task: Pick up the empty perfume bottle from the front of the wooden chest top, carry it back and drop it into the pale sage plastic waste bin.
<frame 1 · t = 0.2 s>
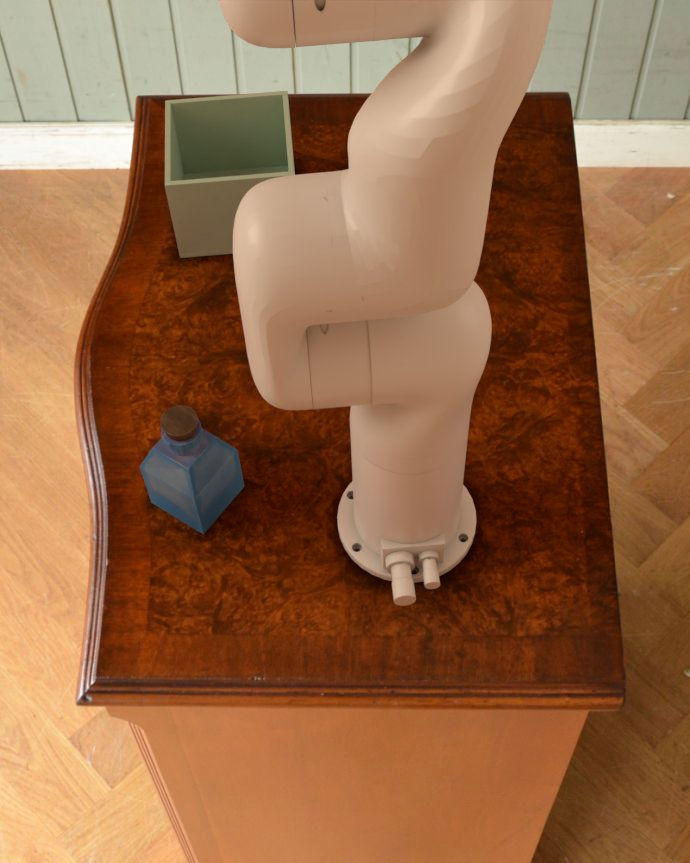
waste bin: (238, 210, 129), on the table
perfume bottle: (198, 495, 107), on the table
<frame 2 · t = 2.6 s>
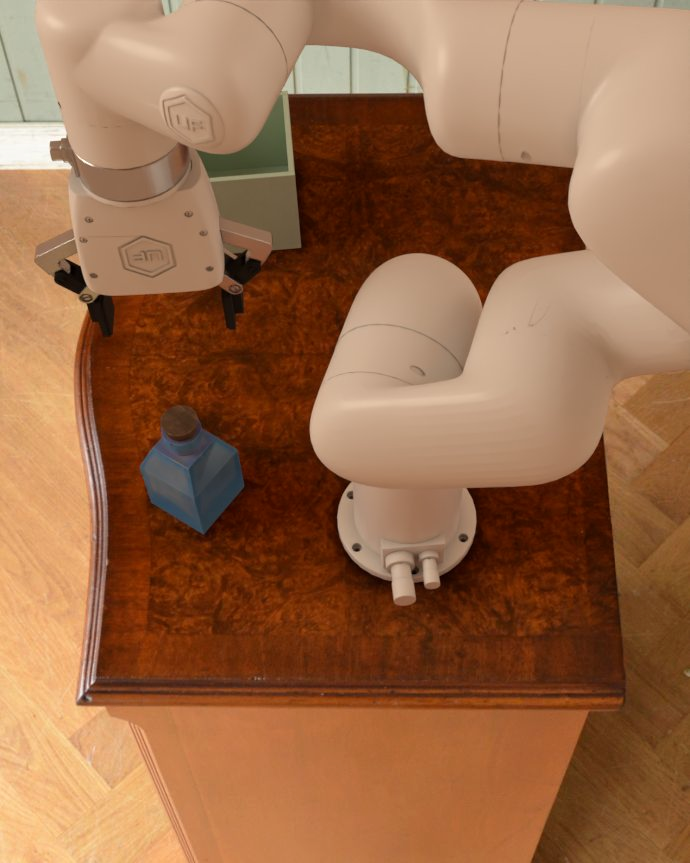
hand: (170, 319, 90), 22 cm above the table, tool pointing down, fingers open, 9 cm apart
nothing on the table moved.
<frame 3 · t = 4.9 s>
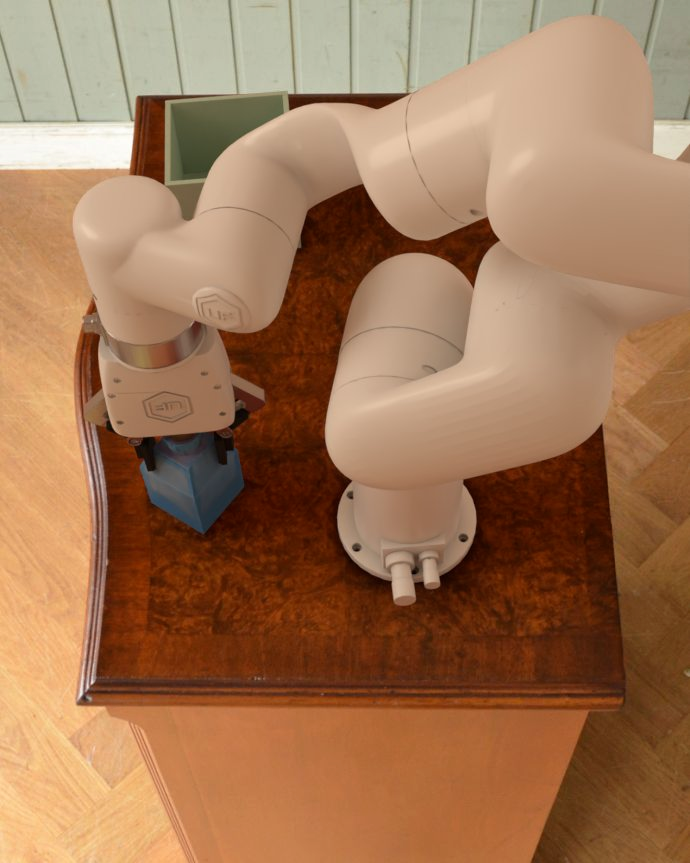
hand: (187, 453, 102), 7 cm above the table, tool pointing down, fingers closed on perfume bottle, 5 cm apart
perfume bottle: (198, 495, 107), on the table, touching gripper
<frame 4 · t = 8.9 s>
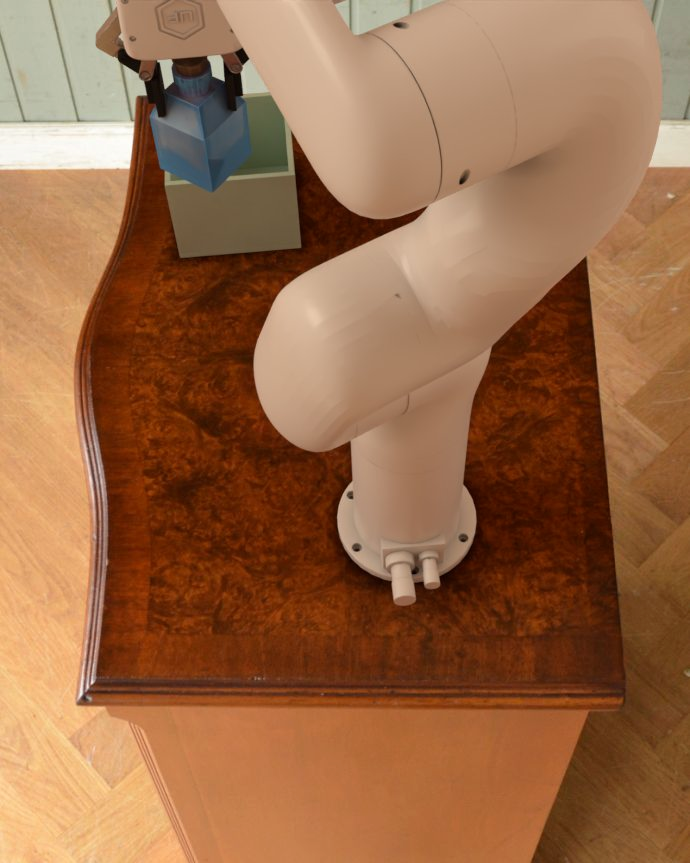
hand: (197, 102, 103), 24 cm above the table, tool pointing down, fingers closed on perfume bottle, 5 cm apart
perfume bottle: (206, 162, 109), point 17 cm above the table, touching gripper
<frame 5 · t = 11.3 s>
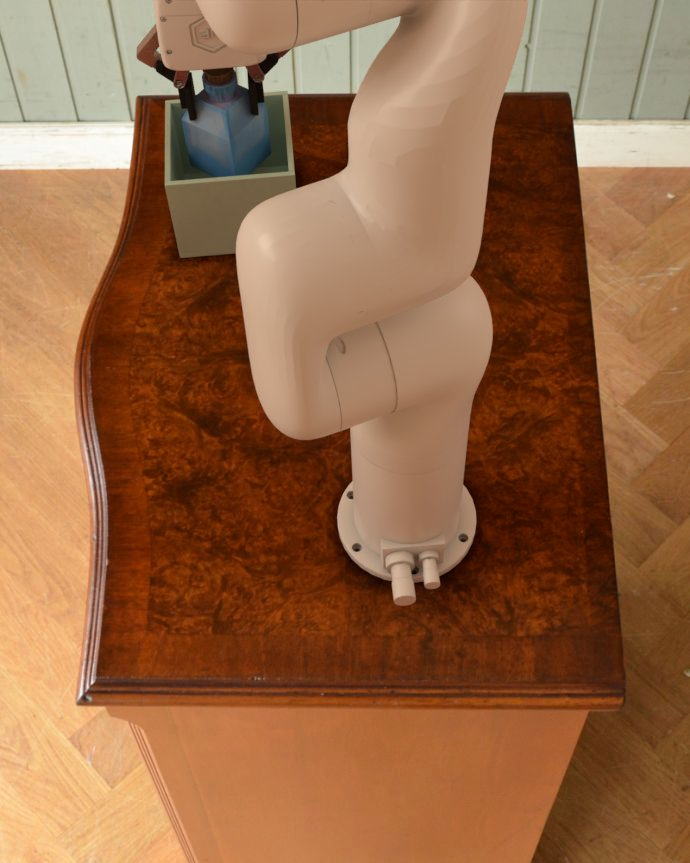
hand: (223, 107, 117), 14 cm above the table, tool pointing down, fingers closed on perfume bottle, 5 cm apart
perfume bottle: (231, 160, 123), point 7 cm above the table, touching gripper
when the fingers open (9 cm above the table, at t = 13.2 s): perfume bottle drops 2 cm, resting on waste bin.
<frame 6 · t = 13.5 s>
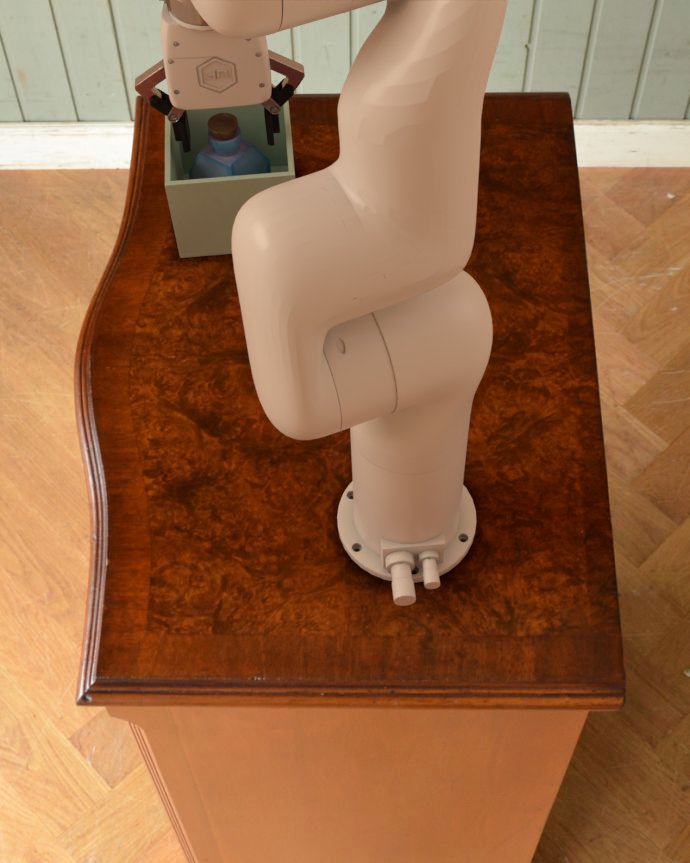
hand: (228, 139, 120), 10 cm above the table, tool pointing down, fingers open, 8 cm apart
perfume bottle: (235, 209, 128), resting on waste bin
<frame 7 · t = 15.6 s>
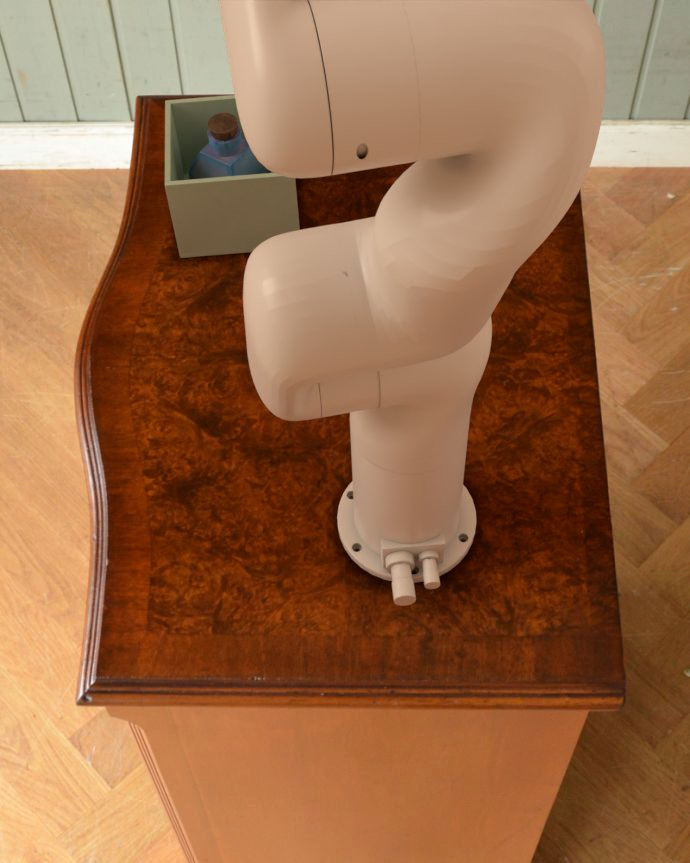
hand: (320, 34, 103), 27 cm above the table, tool pointing down, fingers open, 9 cm apart
nothing on the table moved.
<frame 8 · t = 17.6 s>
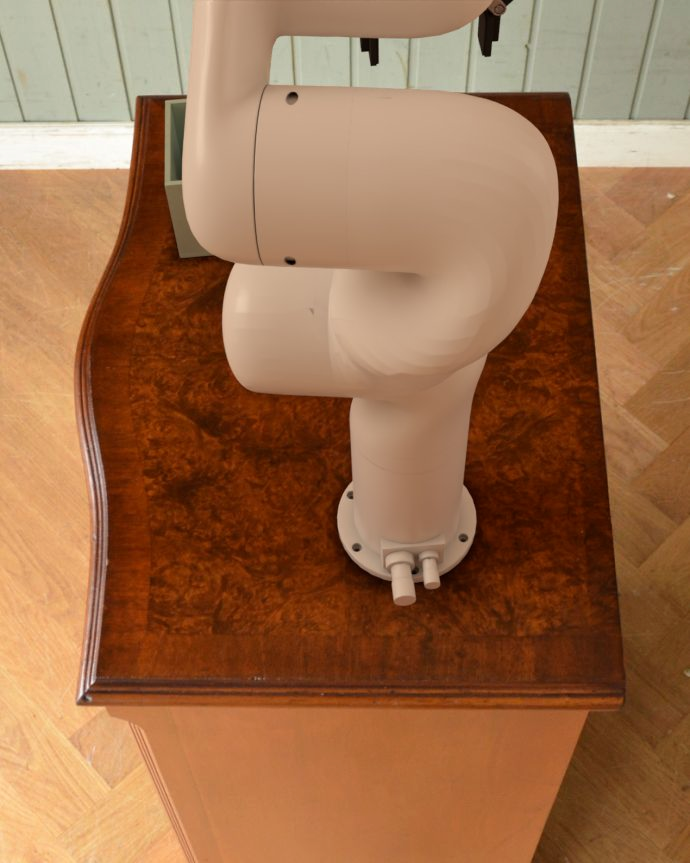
hand: (428, 51, 99), 28 cm above the table, tool pointing down, fingers open, 9 cm apart
nothing on the table moved.
at the end: perfume bottle inside the target area in the waste bin (0.4 cm from its centre), point 0.4 cm above the waste bin's base; the gripper is holding nothing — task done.
